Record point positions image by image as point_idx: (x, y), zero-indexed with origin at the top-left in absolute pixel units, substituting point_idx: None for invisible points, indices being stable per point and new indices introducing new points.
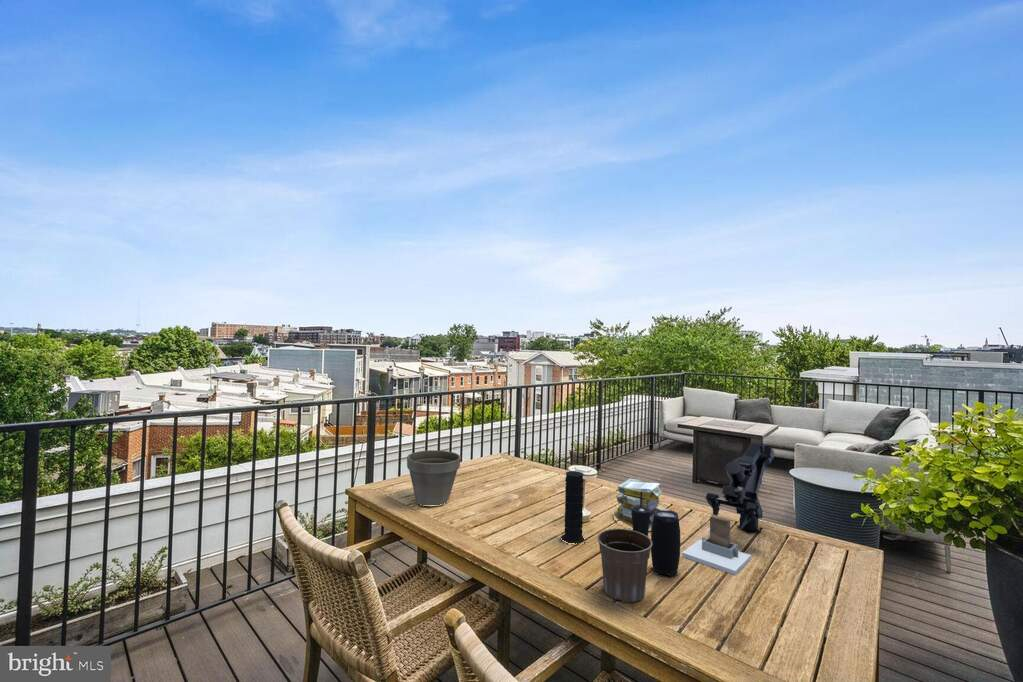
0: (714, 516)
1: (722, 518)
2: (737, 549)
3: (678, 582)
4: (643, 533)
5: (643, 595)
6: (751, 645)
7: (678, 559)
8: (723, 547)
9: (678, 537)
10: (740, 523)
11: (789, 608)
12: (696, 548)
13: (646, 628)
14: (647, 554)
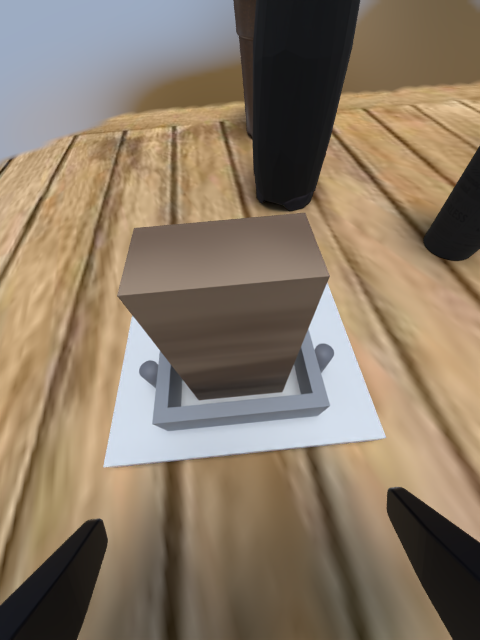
0: (283, 243)
1: (197, 254)
2: (143, 366)
3: (237, 186)
4: (453, 189)
5: (247, 128)
6: (87, 151)
7: (253, 155)
8: None
9: (253, 65)
10: (59, 573)
11: (12, 248)
12: (314, 322)
13: (206, 114)
14: (235, 12)
